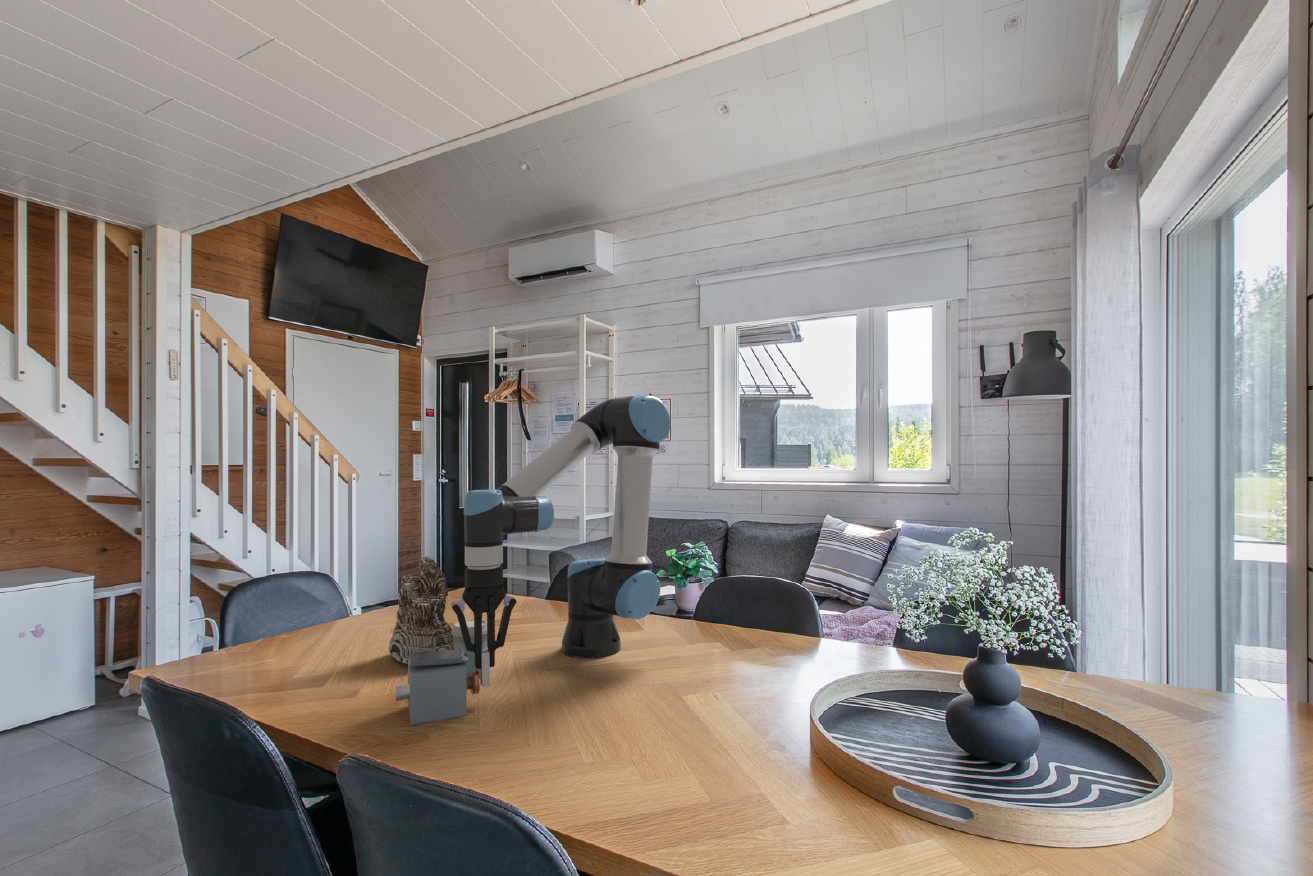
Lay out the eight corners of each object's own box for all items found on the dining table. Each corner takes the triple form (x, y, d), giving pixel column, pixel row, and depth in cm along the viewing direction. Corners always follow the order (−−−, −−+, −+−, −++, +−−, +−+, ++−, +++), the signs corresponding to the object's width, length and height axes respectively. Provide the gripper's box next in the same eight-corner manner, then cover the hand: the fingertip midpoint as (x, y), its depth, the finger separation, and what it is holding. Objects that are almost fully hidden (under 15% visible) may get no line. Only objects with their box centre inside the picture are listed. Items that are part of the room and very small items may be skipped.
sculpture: (376, 658, 162) (376, 557, 163) (427, 645, 172) (426, 551, 173) (418, 674, 149) (418, 565, 150) (470, 659, 159) (470, 557, 160)
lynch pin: (476, 689, 132) (476, 666, 132) (479, 696, 128) (479, 673, 128) (395, 701, 126) (395, 677, 126) (396, 709, 122) (396, 685, 122)
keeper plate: (464, 654, 132) (464, 648, 132) (468, 663, 126) (468, 656, 126) (408, 657, 128) (409, 651, 128) (410, 666, 122) (411, 660, 122)
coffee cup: (480, 684, 142) (479, 628, 142) (444, 681, 143) (444, 627, 144) (497, 671, 150) (497, 619, 150) (463, 669, 152) (463, 617, 152)
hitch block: (460, 698, 133) (460, 654, 133) (466, 715, 124) (466, 668, 124) (408, 706, 129) (408, 660, 129) (410, 724, 120) (410, 675, 120)
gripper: (512, 561, 137) (513, 673, 136) (448, 566, 132) (449, 683, 131) (519, 566, 130) (521, 684, 130) (452, 571, 125) (453, 695, 124)
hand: (484, 683), depth 130 cm, fingers closed
